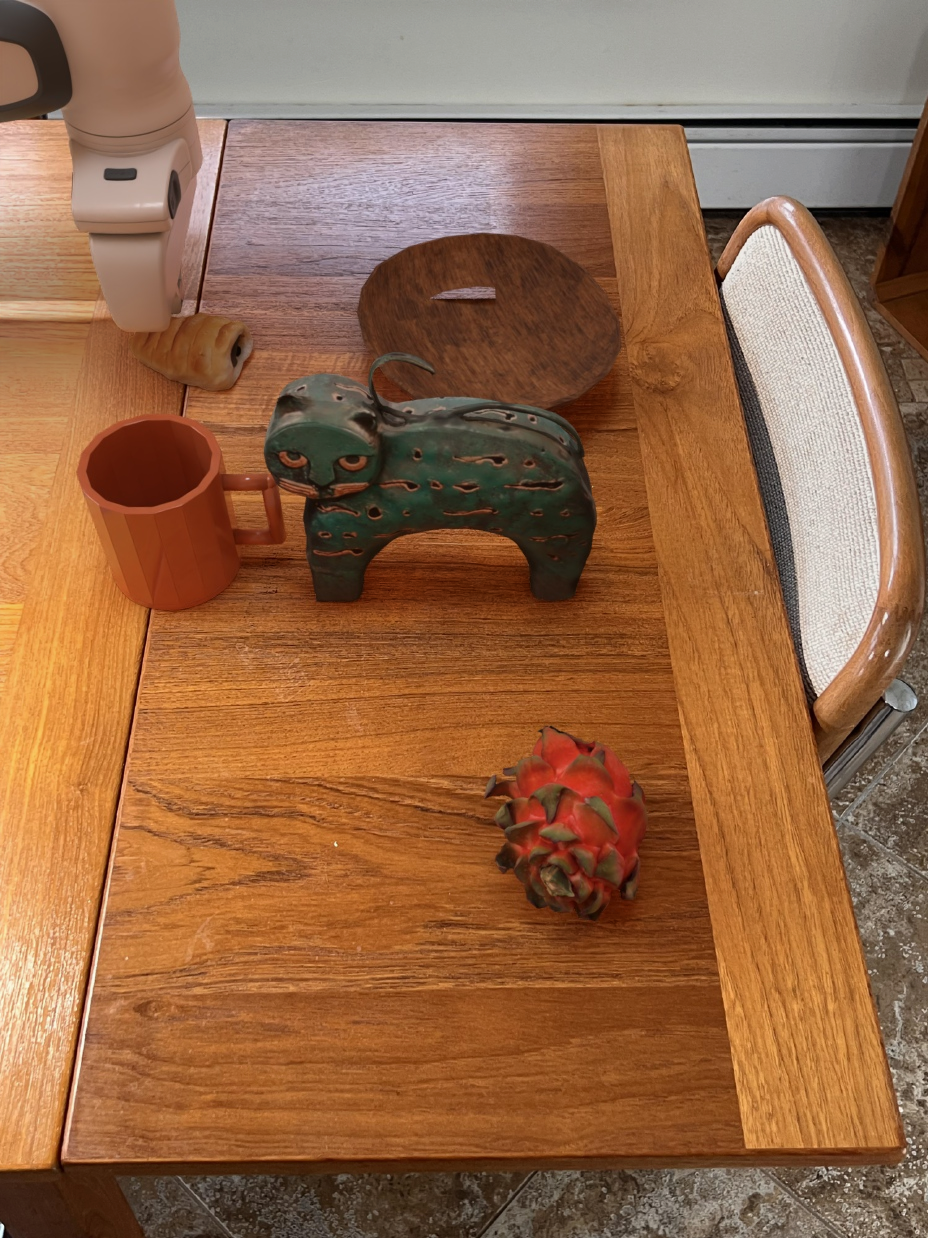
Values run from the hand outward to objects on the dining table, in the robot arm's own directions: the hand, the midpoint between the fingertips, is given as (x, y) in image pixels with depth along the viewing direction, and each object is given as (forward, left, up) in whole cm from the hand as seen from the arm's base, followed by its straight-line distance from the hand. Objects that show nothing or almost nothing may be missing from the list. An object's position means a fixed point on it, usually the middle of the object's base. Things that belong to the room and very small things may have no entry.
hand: (173, 303), depth 92 cm
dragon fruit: (+28, -47, -3) cm, 55 cm away
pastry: (+2, -4, -3) cm, 5 cm away
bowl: (+25, -5, -3) cm, 26 cm away
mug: (+5, -25, -3) cm, 25 cm away
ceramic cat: (+21, -27, -3) cm, 34 cm away
